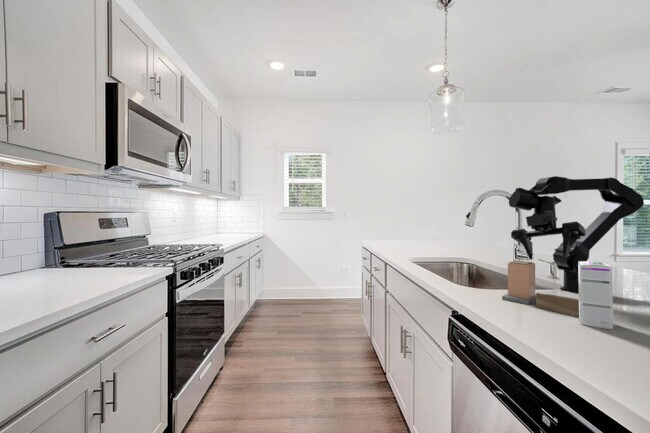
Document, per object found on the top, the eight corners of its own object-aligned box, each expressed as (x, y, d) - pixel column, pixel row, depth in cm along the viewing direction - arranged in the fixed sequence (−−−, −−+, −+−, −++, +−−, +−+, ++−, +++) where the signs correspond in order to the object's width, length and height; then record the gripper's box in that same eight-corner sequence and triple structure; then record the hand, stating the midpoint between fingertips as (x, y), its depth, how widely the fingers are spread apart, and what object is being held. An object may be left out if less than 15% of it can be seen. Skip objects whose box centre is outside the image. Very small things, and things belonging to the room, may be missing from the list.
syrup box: (614, 330, 66) (614, 266, 66) (579, 324, 70) (579, 263, 70) (609, 322, 71) (609, 262, 71) (577, 317, 74) (577, 260, 74)
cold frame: (547, 300, 88) (547, 287, 88) (590, 308, 81) (590, 294, 81) (536, 307, 82) (536, 293, 82) (581, 316, 75) (581, 301, 75)
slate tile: (515, 293, 96) (515, 290, 96) (540, 298, 91) (540, 294, 91) (502, 299, 90) (502, 296, 90) (528, 304, 85) (528, 301, 85)
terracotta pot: (515, 292, 94) (515, 260, 94) (535, 295, 90) (535, 262, 90) (507, 295, 91) (507, 262, 91) (528, 299, 87) (528, 264, 86)
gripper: (502, 209, 102) (502, 252, 96) (569, 196, 87) (573, 246, 81) (518, 221, 107) (519, 262, 101) (583, 211, 92) (589, 259, 86)
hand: (547, 258), depth 92 cm, fingers open, 9 cm apart
